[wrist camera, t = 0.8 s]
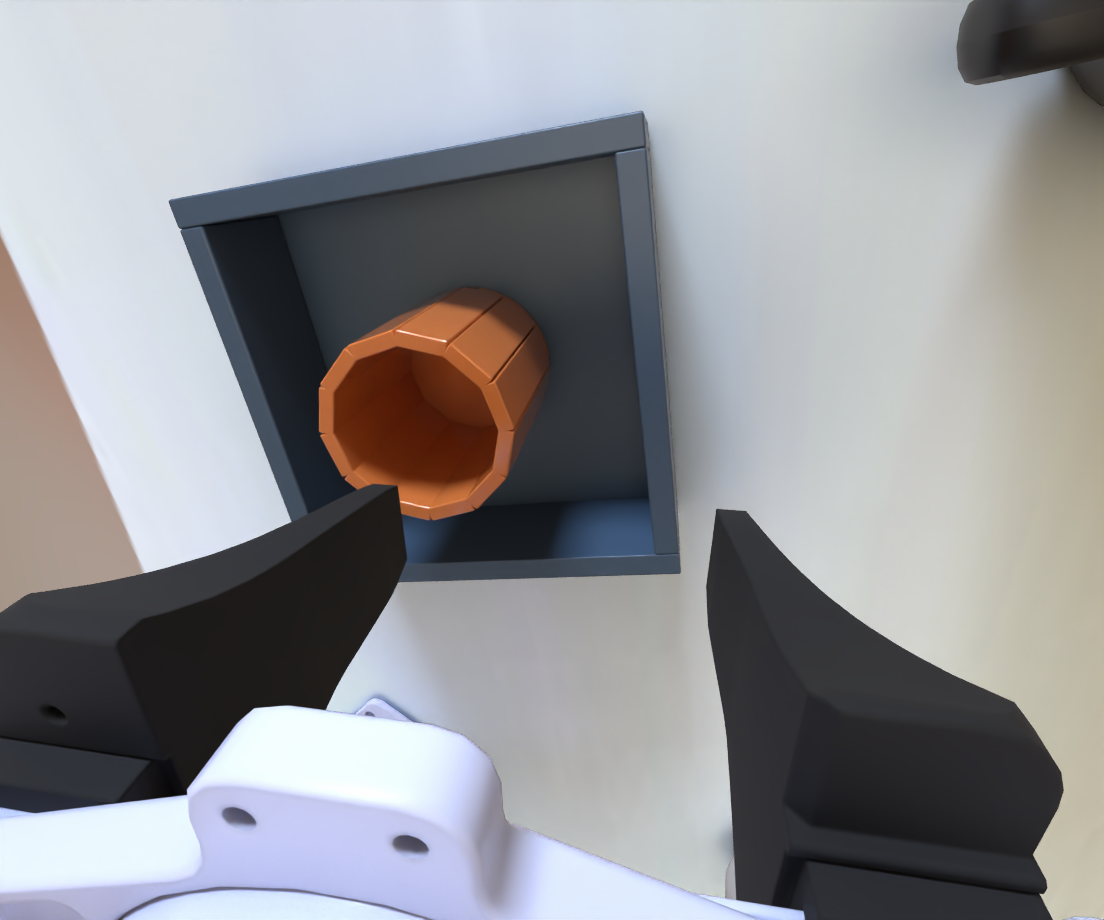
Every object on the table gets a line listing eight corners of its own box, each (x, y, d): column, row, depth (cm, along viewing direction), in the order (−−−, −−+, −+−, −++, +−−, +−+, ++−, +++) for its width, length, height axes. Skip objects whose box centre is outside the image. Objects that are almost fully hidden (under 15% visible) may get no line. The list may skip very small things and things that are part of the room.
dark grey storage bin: (677, 506, 24) (680, 574, 20) (366, 523, 27) (314, 585, 23) (647, 121, 19) (643, 110, 15) (258, 192, 22) (166, 199, 18)
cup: (490, 458, 24) (436, 551, 18) (378, 366, 23) (285, 434, 17) (582, 359, 22) (553, 430, 16) (461, 252, 21) (385, 287, 15)
